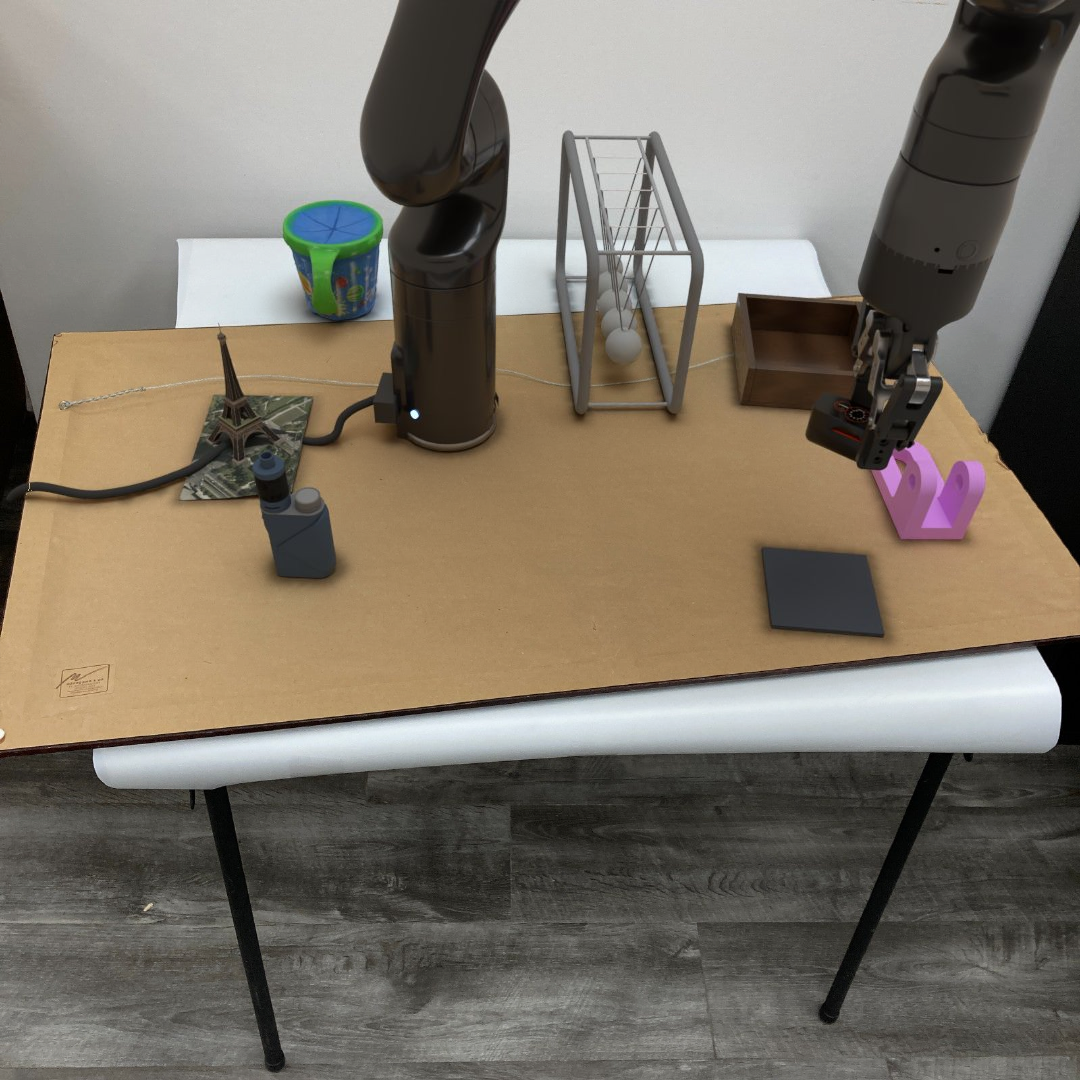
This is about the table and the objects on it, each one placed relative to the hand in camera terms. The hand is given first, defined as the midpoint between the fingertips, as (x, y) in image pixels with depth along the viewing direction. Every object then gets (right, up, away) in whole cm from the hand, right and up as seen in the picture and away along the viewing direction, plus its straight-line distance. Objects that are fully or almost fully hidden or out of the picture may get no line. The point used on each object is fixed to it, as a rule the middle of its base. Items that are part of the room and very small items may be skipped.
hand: (863, 442), depth 73 cm
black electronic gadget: (0, -1, +1) cm, 1 cm away
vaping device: (-44, -10, +8) cm, 46 cm away
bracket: (+10, -3, +18) cm, 21 cm away
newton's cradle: (-16, +15, +35) cm, 41 cm away
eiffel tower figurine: (-52, +1, +19) cm, 55 cm away
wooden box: (+4, +11, +32) cm, 34 cm away
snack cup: (-47, +19, +38) cm, 63 cm away
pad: (-1, -12, +9) cm, 14 cm away
